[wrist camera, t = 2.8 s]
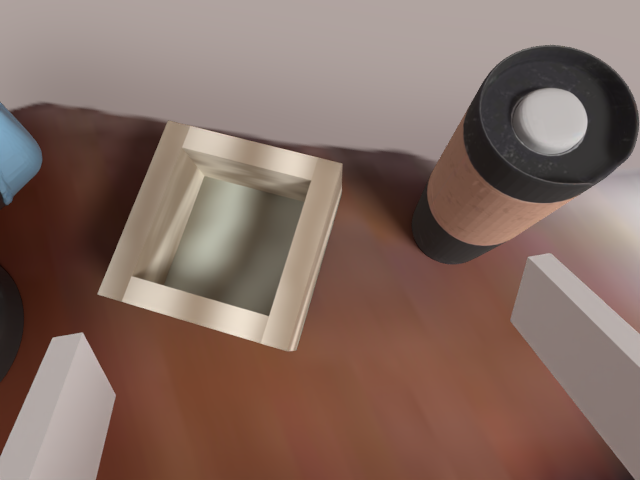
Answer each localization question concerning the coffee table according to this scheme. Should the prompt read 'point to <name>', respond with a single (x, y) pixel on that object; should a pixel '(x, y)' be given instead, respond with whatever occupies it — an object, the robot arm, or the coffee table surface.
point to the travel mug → (525, 150)
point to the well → (227, 235)
